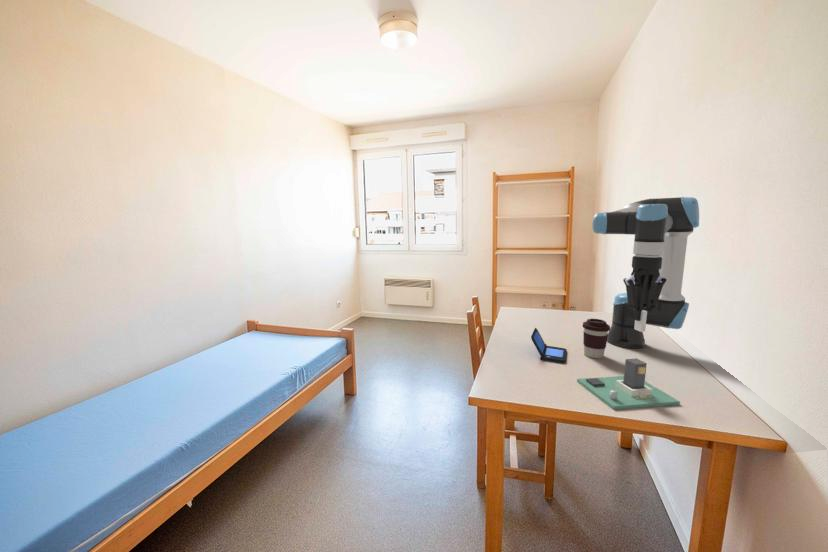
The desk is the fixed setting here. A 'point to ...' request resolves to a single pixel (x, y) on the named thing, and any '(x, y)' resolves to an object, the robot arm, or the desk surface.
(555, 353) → the handheld game console
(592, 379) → the board
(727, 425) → the desk surface
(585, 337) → the coffee cup
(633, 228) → the robot arm
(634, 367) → the plug
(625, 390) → the header
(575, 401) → the desk surface
